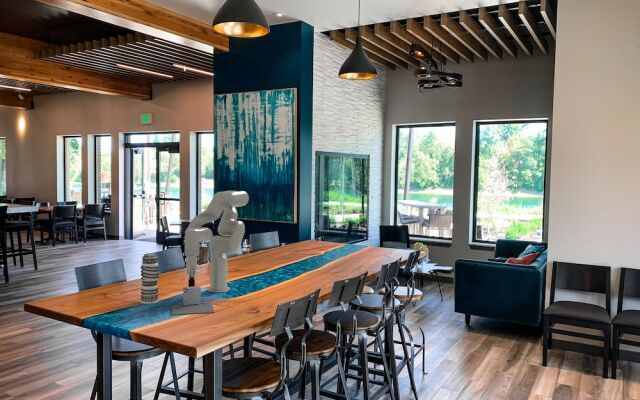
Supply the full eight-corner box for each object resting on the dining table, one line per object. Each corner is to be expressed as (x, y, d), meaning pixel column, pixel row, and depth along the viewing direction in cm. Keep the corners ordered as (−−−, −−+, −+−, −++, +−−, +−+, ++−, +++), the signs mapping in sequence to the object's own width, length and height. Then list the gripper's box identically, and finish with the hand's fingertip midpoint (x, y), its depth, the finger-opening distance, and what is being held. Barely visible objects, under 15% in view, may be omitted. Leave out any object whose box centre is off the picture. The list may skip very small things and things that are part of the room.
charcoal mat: (171, 307, 240) (171, 306, 240) (212, 305, 246) (212, 304, 246) (171, 315, 226) (171, 314, 226) (214, 312, 232) (214, 311, 232)
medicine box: (195, 302, 249) (195, 285, 250) (200, 303, 247) (201, 286, 247) (182, 304, 243) (182, 287, 244) (188, 305, 241) (188, 288, 241)
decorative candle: (136, 303, 244) (137, 255, 243) (145, 298, 254) (146, 252, 252) (153, 304, 243) (154, 256, 242) (161, 299, 252) (162, 253, 251)
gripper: (184, 250, 257) (183, 283, 258) (185, 254, 243) (184, 290, 244) (198, 249, 260) (198, 283, 261) (200, 254, 245) (199, 289, 246)
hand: (191, 286), depth 252 cm, fingers closed
